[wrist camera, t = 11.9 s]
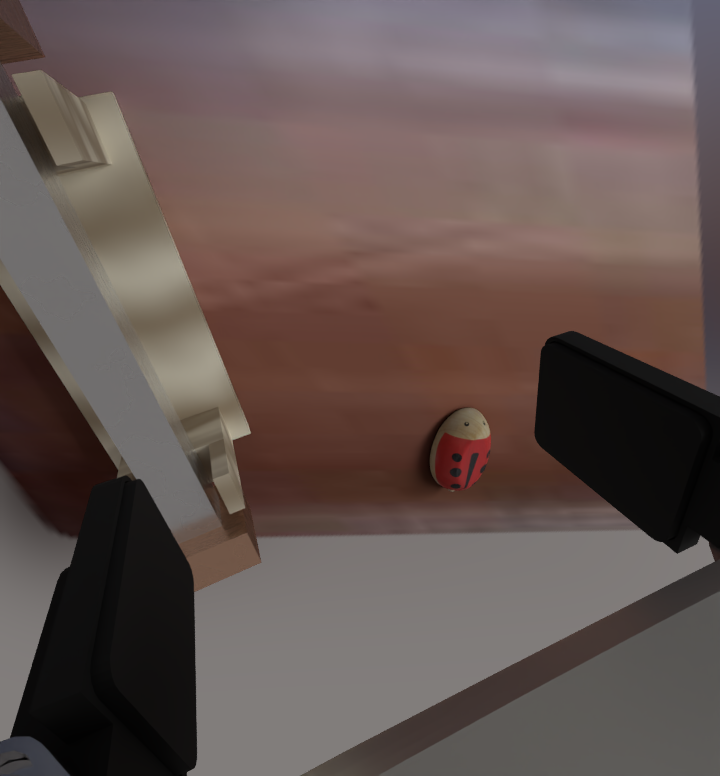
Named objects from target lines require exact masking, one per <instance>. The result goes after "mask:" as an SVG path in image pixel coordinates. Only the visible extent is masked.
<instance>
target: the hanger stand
mask: <svg viewBox="0 0 720 776" xmlns="http://www.w3.org/2000/svg"><path fill="white" fill-rule="evenodd" d="M12 77H13V79H14V81H15V83H16V85H17V87H18V89H19V91H20V93H21V95H22V96H18V97H19V99H20V101H21V103H22V105H23V107H24V109H25V111H26V113H27V115H28V117H29V119H30V121H31V123H32V125H33V127H34V129H35V131H36V133H37V135H38V137H39V139H40V141H41V143H42V145H43V147H44V149H45V151H46V153H47V155H48V157H49V159H50V161H51V163H52V165H53V167H54V169H55V171H56V173H57V175H58V177H59V179H60V181H61V183H62V185H63V187H64V189H65V191H66V193H67V195H68V197H69V199H70V201H71V203H72V205H73V207H74V209H75V211H76V213H77V215H78V217H79V219H80V221H81V223H82V225H83V227H84V229H85V231H86V233H87V235H88V237H89V239H90V241H91V243H92V245H93V247H94V249H95V251H96V253H97V255H98V257H99V259H100V261H101V263H102V265H103V267H104V269H105V271H106V273H107V275H108V277H109V279H110V281H111V283H112V285H113V287H114V289H115V291H116V293H117V295H118V297H119V299H120V301H121V303H122V305H123V307H124V309H125V311H126V313H127V315H128V317H129V319H130V321H131V323H132V325H133V327H134V329H135V331H136V333H137V335H138V337H139V339H140V341H141V343H142V345H143V347H144V349H145V351H146V353H147V355H148V357H149V359H150V361H151V363H152V365H153V367H154V369H155V371H156V373H157V375H158V377H159V379H160V381H161V383H162V385H163V387H164V389H165V391H166V393H167V395H168V397H169V399H170V401H171V403H172V405H173V407H174V409H175V411H176V413H177V415H178V417H179V419H180V421H181V423H182V425H183V427H184V429H185V431H186V433H187V435H188V437H189V439H190V441H191V443H192V445H193V447H194V449H195V451H196V453H197V455H198V457H199V459H200V461H201V463H202V465H203V467H204V469H205V471H206V473H207V475H208V477H209V479H210V481H211V482H213V481H214V483H215V485H216V487H217V489H218V491H219V493H220V495H221V497H222V499H223V501H224V503H225V505H226V507H227V509H228V511H229V513H230V514H232V513H234V512H237V511H239V510H242V509H244V508H245V503H244V498H243V493H242V488H241V483H240V478H239V473H238V468H237V462H236V457H235V452H234V447H233V442H232V440H234V439H237V438H240V437H242V436H245V435H248V434H250V429H249V426H248V423H247V421H246V418H245V416H244V413H243V411H242V408H241V406H240V403H239V401H238V398H237V396H236V393H235V391H234V389H233V386H232V384H231V381H230V379H229V376H228V374H227V371H226V369H225V366H224V364H223V361H222V359H221V356H220V354H219V352H218V349H217V347H216V344H215V342H214V339H213V337H212V334H211V332H210V329H209V327H208V324H207V322H206V320H205V317H204V315H203V312H202V310H201V307H200V305H199V302H198V300H197V297H196V295H195V292H194V290H193V287H192V285H191V283H190V280H189V278H188V275H187V273H186V270H185V268H184V265H183V263H182V260H181V258H180V255H179V253H178V250H177V248H176V246H175V243H174V241H173V238H172V236H171V233H170V231H169V228H168V226H167V223H166V221H165V218H164V216H163V213H162V211H161V209H160V206H159V204H158V201H157V199H156V196H155V194H154V191H153V189H152V186H151V184H150V181H149V179H148V176H147V174H146V172H145V169H144V167H143V164H142V162H141V159H140V157H139V154H138V152H137V149H136V147H135V144H134V142H133V140H132V137H131V135H130V132H129V130H128V127H127V125H126V122H125V120H124V117H123V115H122V112H121V110H120V107H119V105H118V103H117V100H116V98H115V95H114V94H113V93H112V91H111V92H106V93H100V94H95V95H89V96H84V97H76V96H75V95H74V94H72V93H71V92H70V91H68V90H67V89H66V88H64V87H63V86H62V85H60V84H59V83H58V82H57V81H55V80H54V79H53V78H51V77H50V76H49V75H47V74H46V73H45V72H43V71H42V70H37V71H31V72H25V73H19V74H13V75H12ZM0 285H1V287H2V288H3V290H4V292H5V293H6V295H7V296H8V298H9V299H10V301H11V303H12V304H13V306H14V307H15V309H16V310H17V312H18V314H19V315H20V317H21V318H22V320H23V321H24V323H25V324H26V326H27V328H28V329H29V331H30V332H31V334H32V335H33V337H34V339H35V340H36V342H37V343H38V345H39V346H40V348H41V350H42V351H43V353H44V354H45V356H46V357H47V359H48V361H49V362H50V364H51V365H52V367H53V368H54V370H55V372H56V373H57V375H58V376H59V378H60V379H61V381H62V383H63V384H64V386H65V387H66V389H67V390H68V392H69V393H70V395H71V397H72V398H73V400H74V401H75V403H76V404H77V406H78V408H79V409H80V411H81V412H82V414H83V415H84V417H85V419H86V420H87V422H88V423H89V425H90V426H91V428H92V430H93V431H94V433H95V434H96V436H97V437H98V439H99V441H100V442H101V444H102V445H103V447H104V448H105V450H106V452H107V453H108V455H109V456H110V458H111V459H112V461H113V463H114V464H115V466H116V467H117V469H118V475H117V478H119V477H122V476H125V475H126V476H128V477H130V478H131V480H132V481H133V480H136V478H135V476H134V475H133V473H132V472H131V470H130V468H129V467H128V465H127V463H126V462H125V460H124V459H123V457H122V455H121V454H120V452H119V450H118V449H117V447H116V446H115V444H114V442H113V441H112V439H111V438H110V436H109V434H108V433H107V431H106V429H105V428H104V426H103V425H102V423H101V421H100V420H99V418H98V416H97V415H96V413H95V412H94V410H93V408H92V407H91V405H90V403H89V402H88V400H87V399H86V397H85V395H84V394H83V392H82V390H81V389H80V387H79V386H78V384H77V382H76V381H75V379H74V378H73V376H72V374H71V373H70V371H69V369H68V368H67V366H66V365H65V363H64V361H63V360H62V358H61V356H60V355H59V353H58V352H57V350H56V348H55V347H54V345H53V343H52V342H51V340H50V339H49V337H48V335H47V334H46V332H45V330H44V329H43V327H42V326H41V324H40V322H39V321H38V319H37V318H36V316H35V314H34V313H33V311H32V309H31V308H30V306H29V305H28V303H27V301H26V300H25V298H24V296H23V295H22V293H21V292H20V290H19V288H18V287H17V285H16V283H15V282H14V280H13V279H12V277H11V275H10V274H9V272H8V270H7V269H6V267H5V266H4V264H3V262H2V261H1V259H0Z"/></svg>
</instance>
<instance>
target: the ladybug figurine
mask: <svg viewBox="0 0 720 776" xmlns="http://www.w3.org/2000/svg"><path fill="white" fill-rule="evenodd" d="M490 447H491V435H490V430H489V426H488V424H487V421H486V420H485V418H484V417H483V415H482V414H481V413H480V412H479V411H478V410H476V409H473V408H463V409H460V410H458V411H456V412H454V413H453V414H452V415H450V416H449V417H448V418H447V419H446V420H445V422H444V423H443V424H442V426H441V427H440V429H439V430H438V432H437V434H436V436H435V439H434V442H433V445H432V448H431V453H430V470H431V473H432V476H433V478H434V479H435V481H436V482H437V483H438V484H439V485H441V486H443V487H445V488H447V489H448V490H449V491H451V492H453V491H455V490H458V491H459V490H465V489H467V488H469V487H471V486H472V485H473V484H475V483H476V481H477V480H478V479H479V477H480V476H481V474H482V473H483V471H484V469H485V467H486V464H487V461H488V458H489V454H490Z"/></svg>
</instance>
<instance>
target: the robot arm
mask: <svg viewBox="0 0 720 776" xmlns="http://www.w3.org/2000/svg"><path fill="white" fill-rule="evenodd" d="M535 438H536V441H537V443H538V444H539V445H540V446H541V447H542V448H543V449H544V450H545V451H546V452H548V453H549V454H550V455H551V456H553V457H554V458H555V459H556V460H557V461H559V462H560V463H561V464H562V465H564V466H565V467H566V468H567V469H568V470H570V471H571V472H572V473H573V474H574V475H576V476H577V477H578V478H579V479H581V480H582V481H583V482H584V483H585V484H587V485H588V486H589V487H590V488H592V489H593V490H594V491H595V492H596V493H598V494H599V495H600V496H601V497H602V498H604V499H605V500H606V501H607V502H609V503H610V504H611V505H612V506H613V507H615V508H616V509H617V510H618V511H620V512H621V513H622V514H623V515H624V516H626V517H627V518H628V519H629V520H630V521H632V522H633V523H634V524H635V525H637V526H638V527H639V528H640V529H641V530H643V531H644V532H645V533H646V534H648V535H649V536H650V537H651V538H653V539H654V540H656V541H659V542H663V543H665V544H666V545H667V546H668V547H670V548H671V549H672V550H673V551H674V552H676V553H677V554H678V553H680V552H682V551H684V550H686V549H688V548H690V547H692V546H694V545H696V544H697V542H698V540H699V537H700V535H701V536H702V537H704V538H705V539H706V540H708V541H709V546H710V549H711V551H712V554H713V557H714V560H715V562H713V563H712V564H709V565H707V566H705V567H703V568H702V569H699V570H697V571H695V572H693V573H692V574H689V575H688V576H686V577H684V578H682V579H680V580H678V581H676V582H674V583H672V584H670V585H668V586H666V587H664V588H662V589H660V590H658V591H656V592H654V593H652V594H650V595H648V596H646V597H644V598H642V599H640V600H638V601H636V602H634V603H632V604H630V605H628V606H627V607H624V608H622V609H620V610H619V611H617V612H615V613H613V614H611V615H609V616H607V617H605V618H603V619H601V620H599V621H597V622H595V623H593V624H591V625H589V626H587V627H585V628H583V629H581V630H579V631H578V632H575V633H574V634H572V635H570V636H568V637H566V638H564V639H562V640H560V641H558V642H556V643H554V644H552V645H550V646H548V647H546V648H544V649H542V650H540V651H539V652H536V653H534V654H533V655H531V656H529V657H527V658H525V659H523V660H521V661H519V662H517V663H515V664H513V665H511V666H509V667H507V668H505V669H503V670H502V671H500V672H497V673H496V674H494V675H492V676H490V677H488V678H486V679H484V680H482V681H480V682H478V683H476V684H475V685H472V686H470V687H469V688H467V689H465V690H463V691H461V692H459V693H457V694H455V695H453V696H451V697H449V698H447V699H445V700H443V701H442V702H440V703H438V704H436V705H434V706H432V707H430V708H428V709H426V710H424V711H422V712H420V713H419V714H416V715H415V716H413V717H411V718H409V719H407V720H405V721H403V722H401V723H399V724H397V725H395V726H394V727H391V728H389V729H387V730H386V731H384V732H382V733H380V734H378V735H376V736H374V737H372V738H370V739H368V740H366V741H364V742H363V743H360V744H359V745H357V746H355V747H353V748H351V749H349V750H347V751H345V752H343V753H342V754H339V755H338V756H336V757H334V758H332V759H330V760H328V761H327V762H325V763H323V764H321V765H319V766H317V767H315V768H314V769H312V770H310V771H308V772H306V773H305V774H303V775H301V776H720V397H719V396H717V395H715V394H713V393H710V392H708V391H706V390H704V389H701V388H699V387H697V386H695V385H693V384H690V383H688V382H686V381H684V380H682V379H679V378H677V377H675V376H673V375H671V374H668V373H666V372H664V371H662V370H659V369H657V368H655V367H653V366H651V365H648V364H646V363H644V362H642V361H640V360H637V359H635V358H633V357H631V356H628V355H626V354H624V353H622V352H620V351H617V350H615V349H613V348H611V347H609V346H606V345H604V344H602V343H600V342H597V341H595V340H593V339H591V338H589V337H586V336H584V335H582V334H580V333H578V332H574V331H569V332H566V333H563V334H559V335H556V336H553V337H550V338H549V339H548V340H547V341H546V343H545V346H544V347H543V348H542V350H541V358H540V370H539V383H538V395H537V408H536V420H535ZM194 619H195V617H194V578H193V573H192V569H191V567H190V564H189V562H188V561H187V559H186V557H185V555H184V553H183V552H182V550H181V548H180V546H179V545H178V543H177V541H176V539H175V537H174V536H173V534H172V532H171V530H170V528H169V527H168V525H167V523H166V521H165V520H164V518H163V516H162V514H161V512H160V511H159V509H158V507H157V505H156V504H155V502H154V500H153V498H152V496H151V495H150V493H149V491H148V489H147V488H146V486H145V484H144V482H143V481H142V480H141V479H136V480H133V481H132V480H131V478H130V477H128V476H126V475H125V476H122V477H119V478H116V479H112V480H109V481H106V482H103V483H100V484H97V485H95V486H93V488H92V491H91V494H90V498H89V501H88V505H87V508H86V512H85V515H84V519H83V522H82V526H81V530H80V533H79V537H78V540H77V544H76V547H75V551H74V555H73V558H72V561H71V565H70V567H68V568H66V569H65V570H64V571H63V572H62V573H61V574H60V577H59V579H58V581H57V584H56V587H55V591H54V594H53V597H52V601H51V604H50V608H49V611H48V614H47V617H46V620H45V624H44V627H43V630H42V634H41V637H40V640H39V644H38V647H37V650H36V654H35V657H34V660H33V663H32V667H31V670H30V674H29V677H28V680H27V683H26V687H25V690H24V693H23V697H22V700H21V703H20V706H19V710H18V713H17V716H16V720H15V723H14V726H13V730H12V733H11V736H10V738H9V739H7V740H3V741H1V742H0V776H187V772H188V771H190V770H192V769H194V768H195V765H196V760H197V729H196V728H197V726H196V671H195V620H194Z"/></svg>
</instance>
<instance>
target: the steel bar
mask: <svg viewBox="0 0 720 776" xmlns="http://www.w3.org/2000/svg"><path fill="white" fill-rule="evenodd" d="M43 57H45V56H44V54H43V51H42V49H41V47H40V45H39V43H38V40H37V38H36V36H35V34H34V32H33V29H32V27H31V25H30V23H29V21H28V18H27V16H26V14H25V12H24V10H23V7H22V5H21V3H20V1H19V0H0V259H1V261H2V262H3V264H4V266H5V267H6V269H7V270H8V272H9V274H10V275H11V277H12V279H13V280H14V282H15V283H16V285H17V287H18V288H19V290H20V292H21V293H22V295H23V296H24V298H25V300H26V301H27V303H28V305H29V306H30V308H31V309H32V311H33V313H34V314H35V316H36V318H37V319H38V321H39V322H40V324H41V326H42V327H43V329H44V330H45V332H46V334H47V335H48V337H49V339H50V340H51V342H52V343H53V345H54V347H55V348H56V350H57V352H58V353H59V355H60V356H61V358H62V360H63V361H64V363H65V365H66V366H67V368H68V369H69V371H70V373H71V374H72V376H73V378H74V379H75V381H76V382H77V384H78V386H79V387H80V389H81V390H82V392H83V394H84V395H85V397H86V399H87V400H88V402H89V403H90V405H91V407H92V408H93V410H94V412H95V413H96V415H97V416H98V418H99V420H100V421H101V423H102V425H103V426H104V428H105V429H106V431H107V433H108V434H109V436H110V438H111V439H112V441H113V442H114V444H115V446H116V447H117V449H118V450H119V452H120V454H121V455H122V457H123V459H124V460H125V462H126V463H127V465H128V467H129V468H130V470H131V472H132V473H133V475H134V476H135V478H136V479H141V480H142V481H143V482H144V484H145V486H146V488H147V489H148V491H149V493H150V495H151V496H152V498H153V500H154V502H155V504H156V505H157V507H158V509H159V511H160V512H161V514H162V516H163V518H164V520H165V521H166V523H167V525H168V527H169V528H170V530H171V532H172V534H173V536H174V537H175V539H176V541H177V543H178V545H179V546H180V548H181V550H182V552H183V553H184V555H185V557H186V559H187V561H188V562H189V564H190V567H191V569H192V573H193V578H194V592H195V591H198V590H200V589H202V588H204V587H207V586H209V585H211V584H213V583H216V582H218V581H220V580H222V579H225V578H227V577H229V576H232V575H234V574H236V573H239V572H241V571H243V570H245V569H248V568H250V567H252V566H254V565H257V564H259V563H261V558H260V554H259V549H258V544H257V539H256V534H255V529H254V525H253V520H252V515H251V510H250V506H249V503H248V501H247V499H246V497H245V494H244V492H243V490H242V493H243V498H244V503H245V508H244V509H242V510H239V511H237V512H234V513H232V514H230V513H229V511H228V509H227V507H226V505H225V503H224V501H223V499H222V497H221V495H220V493H219V491H218V489H217V487H216V486H214V487H213V485H212V483H211V481H210V479H209V477H208V475H207V473H206V471H205V469H204V467H203V465H202V463H201V461H200V459H199V457H198V455H197V453H196V451H195V449H194V447H193V445H192V443H191V441H190V439H189V437H188V435H187V433H186V431H185V429H184V427H183V425H182V423H181V421H180V419H179V417H178V415H177V413H176V411H175V409H174V407H173V405H172V403H171V401H170V399H169V397H168V395H167V393H166V391H165V389H164V387H163V385H162V383H161V381H160V379H159V377H158V375H157V373H156V371H155V369H154V367H153V365H152V363H151V361H150V359H149V357H148V355H147V353H146V351H145V349H144V347H143V345H142V343H141V341H140V339H139V337H138V335H137V333H136V331H135V329H134V327H133V325H132V323H131V321H130V319H129V317H128V315H127V313H126V311H125V309H124V307H123V305H122V303H121V301H120V299H119V297H118V295H117V293H116V291H115V289H114V287H113V285H112V283H111V281H110V279H109V277H108V275H107V273H106V271H105V269H104V267H103V265H102V263H101V261H100V259H99V257H98V255H97V253H96V251H95V249H94V247H93V245H92V243H91V241H90V239H89V237H88V235H87V233H86V231H85V229H84V227H83V225H82V223H81V221H80V219H79V217H78V215H77V213H76V211H75V209H74V207H73V205H72V203H71V201H70V199H69V197H68V195H67V193H66V191H65V189H64V187H63V185H62V183H61V181H60V179H59V177H58V175H57V173H56V171H55V169H54V167H53V165H52V163H51V161H50V159H49V157H48V155H47V153H46V151H45V149H44V147H43V145H42V143H41V141H40V139H39V137H38V135H37V133H36V131H35V129H34V127H33V125H32V123H31V121H30V119H29V117H28V115H27V113H26V111H25V109H24V107H23V105H22V103H21V101H20V99H19V97H18V95H17V93H16V91H15V89H14V87H13V85H12V83H11V81H10V79H9V77H8V75H7V73H6V71H5V69H4V67H3V65H2V64H5V63H12V62H18V61H24V60H30V59H37V58H43Z"/></svg>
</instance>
